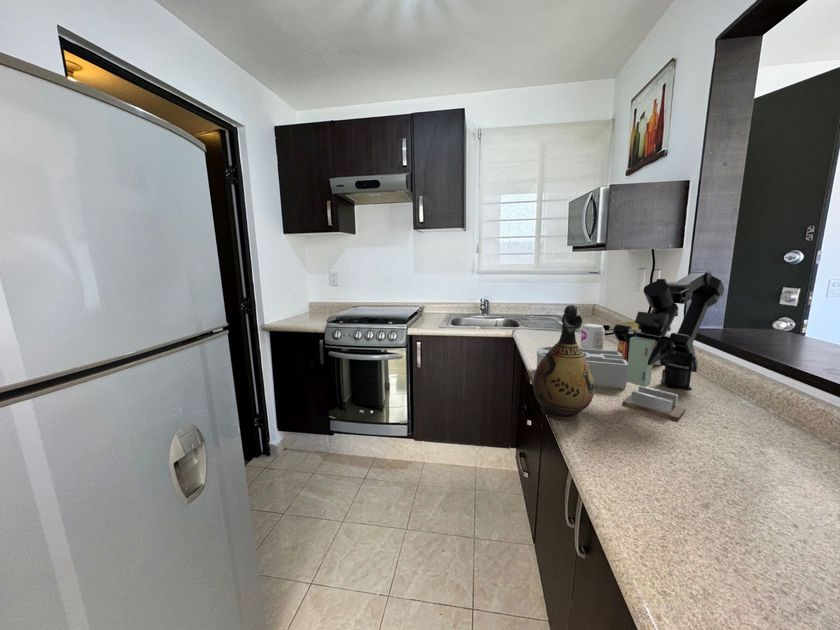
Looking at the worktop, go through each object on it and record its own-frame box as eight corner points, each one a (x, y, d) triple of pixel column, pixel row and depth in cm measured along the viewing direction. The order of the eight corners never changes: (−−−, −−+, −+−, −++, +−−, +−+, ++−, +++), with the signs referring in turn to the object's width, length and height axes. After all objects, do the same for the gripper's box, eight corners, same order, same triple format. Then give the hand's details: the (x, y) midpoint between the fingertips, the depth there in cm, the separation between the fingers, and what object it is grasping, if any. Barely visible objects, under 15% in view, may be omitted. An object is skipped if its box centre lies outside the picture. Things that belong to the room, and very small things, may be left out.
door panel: (631, 379, 95) (635, 336, 93) (650, 384, 91) (655, 340, 88) (625, 381, 93) (630, 338, 91) (644, 387, 89) (649, 341, 87)
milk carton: (638, 366, 126) (644, 316, 123) (646, 374, 118) (652, 320, 114) (612, 364, 129) (617, 315, 126) (618, 371, 120) (623, 319, 117)
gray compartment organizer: (626, 390, 104) (629, 365, 103) (535, 380, 114) (536, 356, 113) (616, 373, 119) (618, 351, 118) (536, 365, 129) (537, 344, 128)
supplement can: (580, 362, 131) (583, 326, 129) (578, 356, 139) (581, 322, 136) (603, 364, 128) (606, 328, 126) (600, 358, 136) (603, 324, 133)
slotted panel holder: (622, 404, 94) (623, 390, 93) (631, 396, 99) (633, 383, 98) (677, 421, 84) (680, 405, 83) (685, 411, 89) (687, 396, 88)
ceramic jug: (596, 431, 80) (606, 312, 75) (530, 421, 85) (536, 309, 80) (587, 402, 96) (595, 302, 90) (532, 395, 101) (537, 300, 96)
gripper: (618, 297, 98) (595, 338, 94) (694, 305, 82) (670, 354, 78) (629, 320, 103) (607, 359, 100) (702, 330, 88) (680, 377, 84)
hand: (637, 362), depth 90 cm, fingers closed on door panel, 5 cm apart
